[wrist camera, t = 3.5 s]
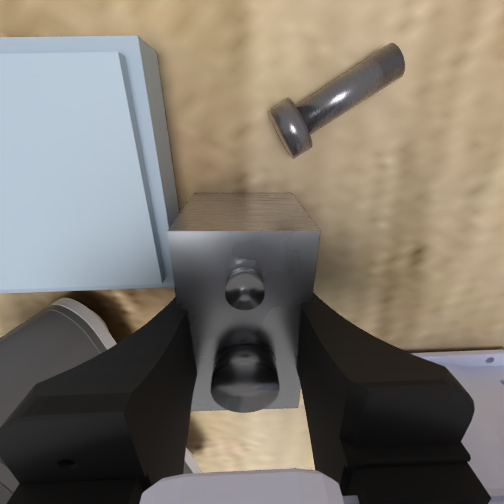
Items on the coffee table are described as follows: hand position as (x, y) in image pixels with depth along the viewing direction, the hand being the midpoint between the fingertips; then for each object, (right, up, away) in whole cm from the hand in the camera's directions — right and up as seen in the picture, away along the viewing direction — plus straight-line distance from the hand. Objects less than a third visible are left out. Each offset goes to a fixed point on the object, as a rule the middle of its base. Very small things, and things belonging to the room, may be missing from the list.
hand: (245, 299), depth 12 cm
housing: (0, +1, +2) cm, 2 cm away
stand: (-9, +5, 0) cm, 11 cm away
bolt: (+4, +8, -1) cm, 9 cm away
